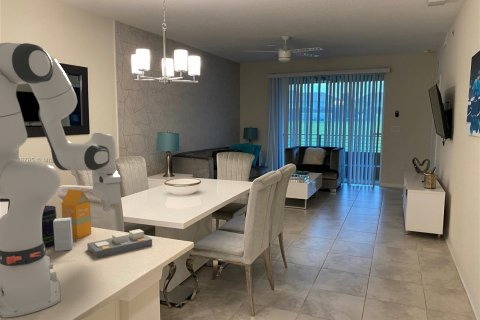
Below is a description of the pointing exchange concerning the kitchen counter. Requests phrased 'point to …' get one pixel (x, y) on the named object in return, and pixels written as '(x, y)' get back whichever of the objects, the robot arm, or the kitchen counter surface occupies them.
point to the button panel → (118, 246)
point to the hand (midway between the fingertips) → (106, 210)
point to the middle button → (119, 238)
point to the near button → (101, 244)
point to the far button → (136, 234)
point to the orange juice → (77, 212)
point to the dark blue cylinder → (48, 226)
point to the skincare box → (63, 234)
